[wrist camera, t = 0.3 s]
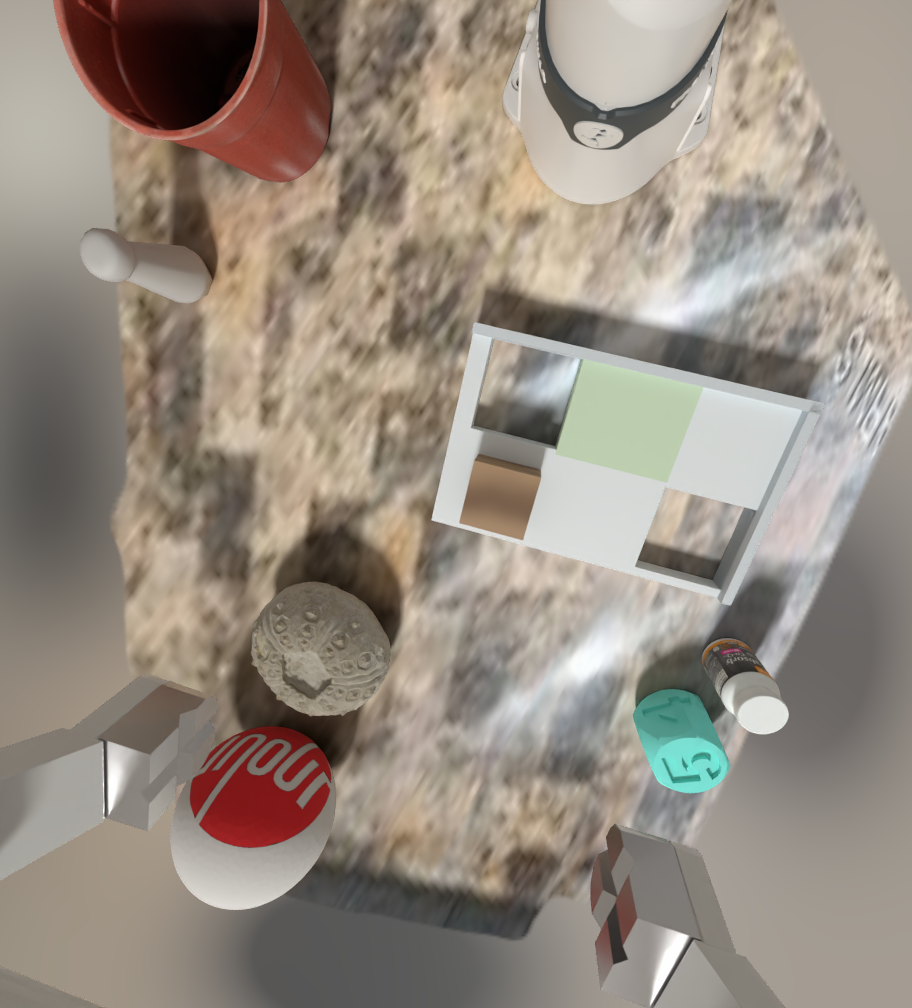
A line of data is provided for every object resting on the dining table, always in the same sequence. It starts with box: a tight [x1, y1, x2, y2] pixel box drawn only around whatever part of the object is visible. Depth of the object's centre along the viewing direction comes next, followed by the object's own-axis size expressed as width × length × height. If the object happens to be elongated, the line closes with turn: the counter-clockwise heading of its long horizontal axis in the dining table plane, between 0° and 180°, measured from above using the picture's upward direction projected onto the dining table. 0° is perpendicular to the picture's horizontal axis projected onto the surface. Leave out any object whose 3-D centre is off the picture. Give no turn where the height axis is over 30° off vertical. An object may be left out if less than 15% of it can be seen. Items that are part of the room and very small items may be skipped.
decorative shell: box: [251, 582, 390, 716], centre depth 59 cm, size 18×18×10 cm
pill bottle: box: [702, 638, 789, 734], centre depth 51 cm, size 6×6×10 cm
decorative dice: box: [633, 689, 730, 793], centre depth 56 cm, size 8×8×8 cm
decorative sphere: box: [171, 726, 336, 910], centre depth 62 cm, size 20×20×20 cm
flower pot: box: [53, 0, 331, 182], centre depth 40 cm, size 16×16×16 cm
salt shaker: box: [80, 228, 213, 303], centre depth 47 cm, size 6×6×13 cm
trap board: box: [432, 322, 825, 606], centre depth 50 cm, size 22×34×4 cm, turn 77°
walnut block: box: [459, 454, 541, 540], centre depth 50 cm, size 7×7×4 cm
